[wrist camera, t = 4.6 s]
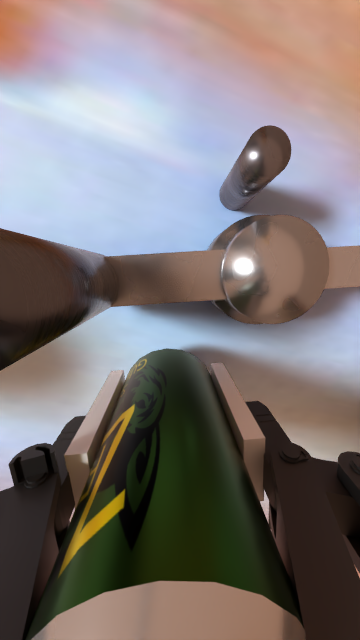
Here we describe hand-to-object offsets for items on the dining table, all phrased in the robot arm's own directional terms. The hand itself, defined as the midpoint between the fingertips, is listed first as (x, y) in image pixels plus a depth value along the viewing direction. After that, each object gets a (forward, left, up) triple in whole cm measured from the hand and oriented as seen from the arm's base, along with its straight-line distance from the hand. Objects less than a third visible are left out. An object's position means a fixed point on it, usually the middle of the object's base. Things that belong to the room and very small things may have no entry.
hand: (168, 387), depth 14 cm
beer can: (0, 0, -1) cm, 1 cm away
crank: (-7, +1, +1) cm, 7 cm away
